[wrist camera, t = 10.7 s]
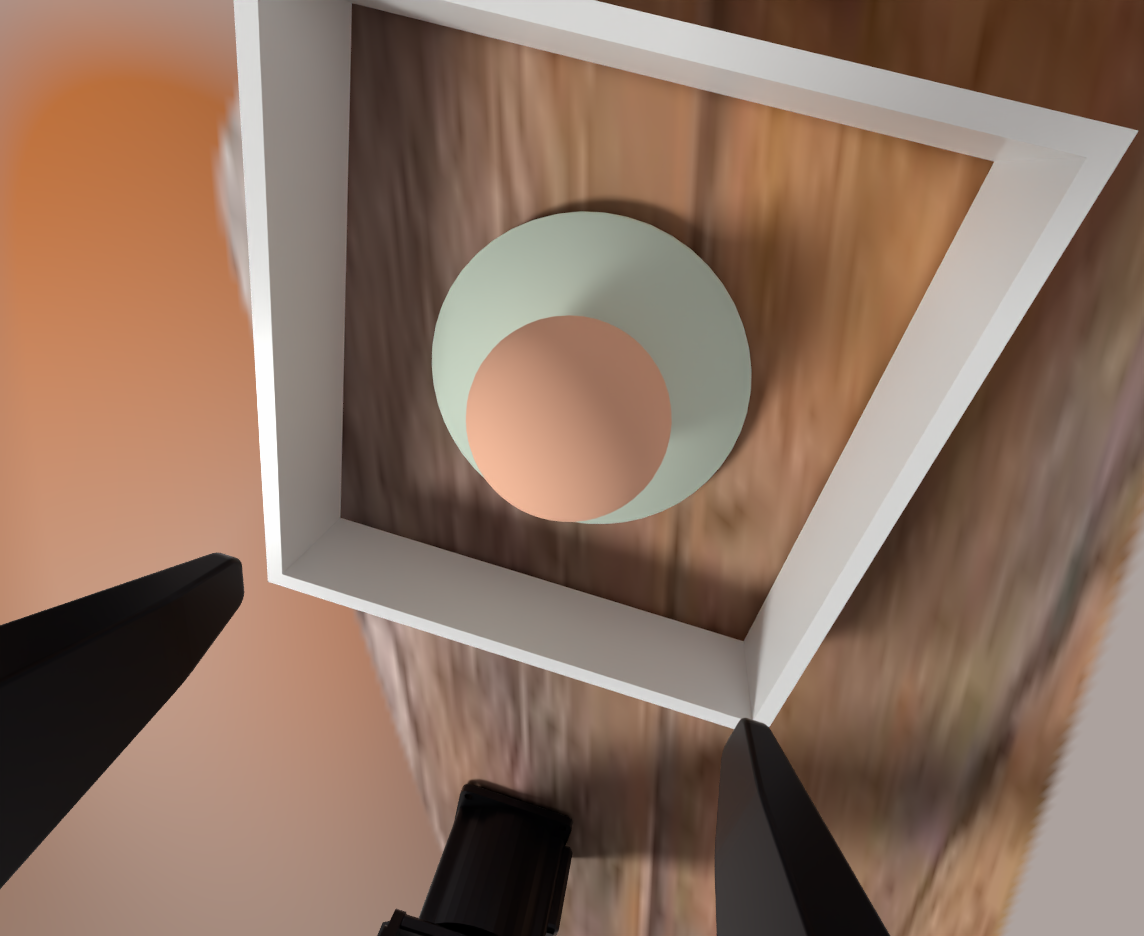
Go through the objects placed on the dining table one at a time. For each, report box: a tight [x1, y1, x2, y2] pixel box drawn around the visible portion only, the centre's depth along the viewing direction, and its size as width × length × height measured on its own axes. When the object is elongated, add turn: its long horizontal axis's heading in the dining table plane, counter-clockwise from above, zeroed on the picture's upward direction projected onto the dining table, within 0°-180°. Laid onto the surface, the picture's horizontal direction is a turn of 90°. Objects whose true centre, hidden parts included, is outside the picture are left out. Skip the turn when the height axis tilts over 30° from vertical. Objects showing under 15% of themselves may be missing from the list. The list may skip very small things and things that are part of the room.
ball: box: [466, 315, 672, 522], centre depth 17 cm, size 6×6×6 cm
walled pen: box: [234, 0, 1138, 729], centre depth 18 cm, size 19×19×4 cm
